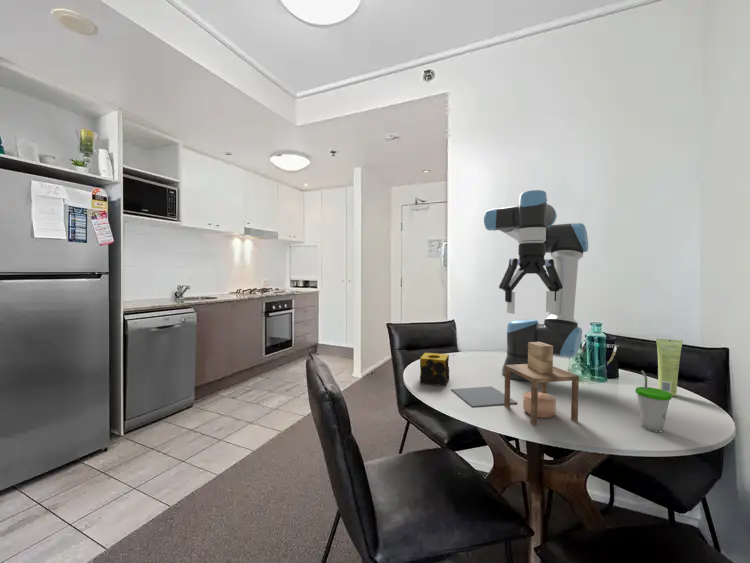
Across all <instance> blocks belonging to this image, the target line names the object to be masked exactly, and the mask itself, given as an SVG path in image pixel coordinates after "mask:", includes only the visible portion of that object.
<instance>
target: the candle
mask: <svg viewBox="0 0 750 563" xmlns="http://www.w3.org/2000/svg"><path fill="white" fill-rule="evenodd" d="M449 359H450V354H447V353H446V354H445V353H437V352H436V353H434V352H424V353H423V354H422V355H421V356H420V358H419V368H420V372H419V374H420V376H419V383H420V384H424V385H432V386H433V385H434V386H441V387H445V386H447V384H448V382H449V380H450V367H449Z"/></svg>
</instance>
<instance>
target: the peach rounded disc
mask: <svg viewBox="0 0 750 563" xmlns="http://www.w3.org/2000/svg"><path fill="white" fill-rule="evenodd" d="M522 397H523V399H522V401H523V402H522V409H523V410H524V411H525V412H526V413H527V414H528V415H529V416H531V391H527V392H524V393H523V395H522ZM556 414H557V398H556V397H555V396H554V395H551V394H549V393H547V394H546V393H541V391H538V409H537V418H540V419H541V418H542V419H548V418H549V419H550V418H551V417H553V416H555V415H556Z"/></svg>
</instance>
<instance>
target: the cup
mask: <svg viewBox="0 0 750 563" xmlns="http://www.w3.org/2000/svg"><path fill="white" fill-rule="evenodd" d="M640 372H641V374H642V376H643V377H644V386H639V387H636V388H635V394H637V399H638V400H637V401H638V407H639V409H638V410H639V415H640V423H641V427H642V428H643V429H644V428H645V429H644V430H646V429H647V431H649V430H651V431H650V432H653V431H657V432H656V433H661V432H660V431H663V432H664V427H665V421H666V417H667V414H668V413H667V412H668V408H669V404H670V400H672V398H673V396H672V394H671V393H669V392H667V391H664V390H660V389H658V388H654V387H648V377H647V375H646V373H645V371H644V370H641V371H640Z"/></svg>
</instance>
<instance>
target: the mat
mask: <svg viewBox="0 0 750 563" xmlns="http://www.w3.org/2000/svg"><path fill="white" fill-rule="evenodd" d="M450 391H452V392H453V393H454V394H455V395H456V396H457V397H459V398H460V399H461V400H463V401H464V403H466V404H467V403H468V405H469V406H470V407H471V408H479V407H495V406H503V405H504V395H505V393H503V392H501V391H500V390H499V389H496V388H495V387H493V386H477V387H465V388H464V387H463V388H462V387H461V388H452V389H450ZM517 404H518V402H517V401H516V400H515V399H513V398H511V397H510V405H517Z"/></svg>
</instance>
